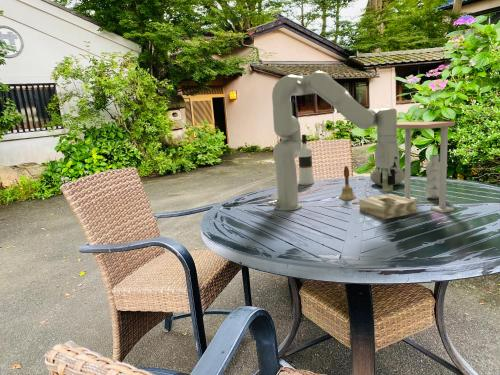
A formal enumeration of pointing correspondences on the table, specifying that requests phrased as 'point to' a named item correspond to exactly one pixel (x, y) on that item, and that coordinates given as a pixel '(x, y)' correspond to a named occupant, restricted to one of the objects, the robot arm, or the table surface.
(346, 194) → the hand bell
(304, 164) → the vodka
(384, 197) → the socket block
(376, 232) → the table surface
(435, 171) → the plastic bottle
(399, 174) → the grey rounded lump
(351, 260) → the table surface
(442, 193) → the two-post wooden stand
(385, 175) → the peg
